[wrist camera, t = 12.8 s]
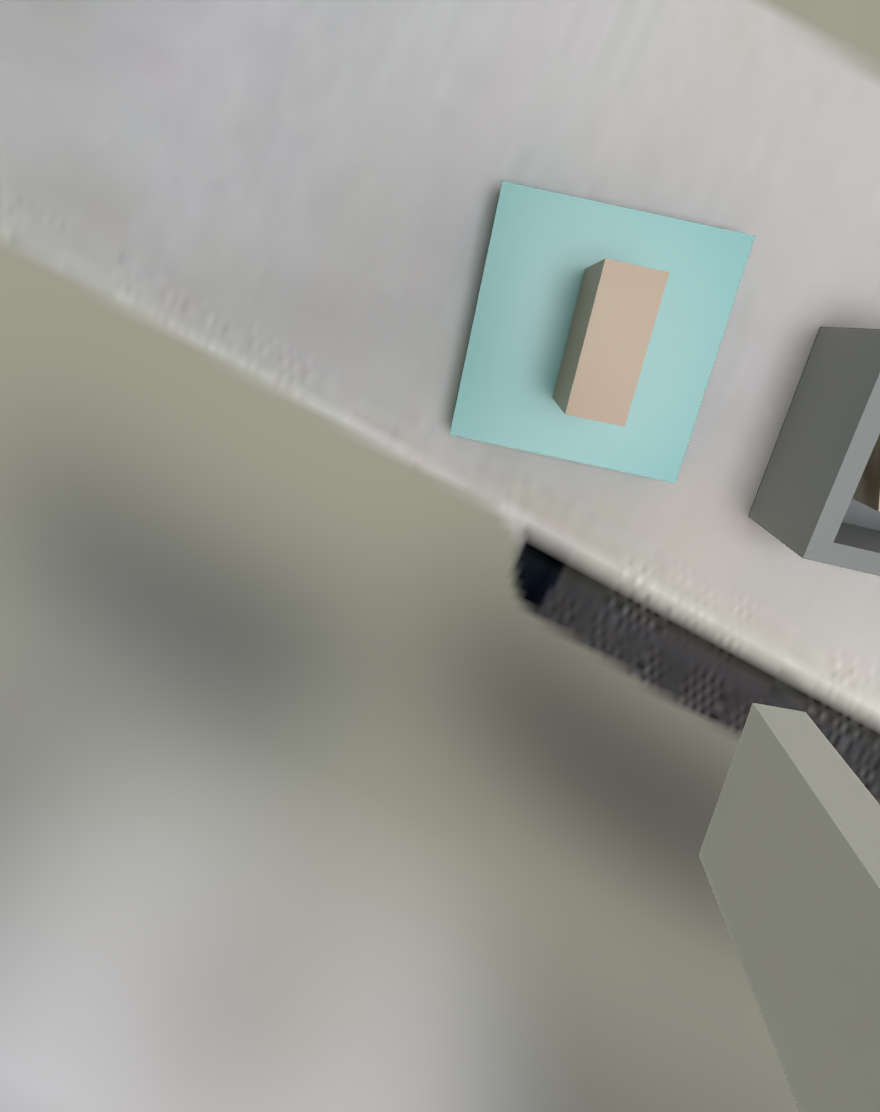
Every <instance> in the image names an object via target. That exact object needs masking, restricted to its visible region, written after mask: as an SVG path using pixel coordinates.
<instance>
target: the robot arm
mask: <svg viewBox="0 0 880 1112" xmlns="http://www.w3.org/2000/svg"><path fill="white" fill-rule="evenodd" d="M699 856H700V859H701V862H702V864H703V867H704V869H705V872H706V874H707V877H708V880H709V882H710V885H711V887H712V890H713V892H714V895H715V897H716V900H717V903H718V905H719V908H720V910H721V913H722V915H723V918H724V920H725V923H726V926H727V928H728V931H729V933H730V936H731V938H732V941H733V944H734V946H735V949H736V951H737V954H738V956H739V959H740V961H741V964H742V967H743V969H744V972H745V974H746V977H747V979H748V982H749V984H750V987H751V990H752V992H753V994H754V997H755V999H756V1002H757V1005H758V1007H759V1010H760V1013H761V1015H762V1018H763V1020H764V1023H765V1025H766V1028H767V1030H768V1033H769V1035H770V1038H771V1041H772V1043H773V1046H774V1048H775V1051H776V1053H777V1056H778V1059H779V1061H780V1064H781V1066H782V1069H783V1071H784V1074H785V1076H786V1079H787V1082H788V1084H789V1087H790V1089H791V1092H792V1094H793V1097H794V1100H795V1102H796V1105H797V1107H798V1110H799V1112H880V805H879V803H878V802H877V801H876V800H875V798H874V797H873V796H872V795H871V793H870V792H869V791H868V790H867V788H866V787H865V786H864V785H863V783H862V782H861V781H860V780H859V778H858V777H857V776H856V775H855V773H854V772H853V771H852V770H851V768H850V767H849V766H848V765H847V763H846V762H845V761H844V760H843V758H842V757H841V756H840V755H839V753H838V752H837V751H836V750H835V748H834V747H833V746H832V745H831V743H830V742H829V741H828V740H827V738H826V737H825V736H824V735H823V733H822V732H821V731H820V730H819V728H818V727H817V726H816V725H815V723H814V722H813V721H812V720H811V718H810V717H809V716H808V715H807V713H806V712H802V711H796V710H790V709H785V708H779V707H773V706H767V705H762V704H756V703H753V704H752V706H751V709H750V712H749V715H748V718H747V721H746V723H745V726H744V729H743V732H742V735H741V738H740V740H739V743H738V746H737V749H736V752H735V755H734V757H733V760H732V763H731V766H730V769H729V772H728V775H727V777H726V780H725V783H724V786H723V789H722V792H721V794H720V797H719V800H718V803H717V805H716V808H715V811H714V814H713V817H712V820H711V822H710V825H709V828H708V831H707V834H706V837H705V839H704V842H703V845H702V848H701V851H700V854H699Z"/></svg>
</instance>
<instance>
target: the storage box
mask: <svg viewBox="0 0 880 1112" xmlns="http://www.w3.org/2000/svg"><path fill="white" fill-rule="evenodd" d="M879 434H880V329H862V328H831V327H820V329H819V332H818V335H817V337H816V340H815V343H814V345H813V348H812V350H811V353H810V356H809V358H808V361H807V364H806V366H805V369H804V372H803V374H802V377H801V379H800V382H799V385H798V387H797V390H796V393H795V395H794V398H793V401H792V403H791V406H790V408H789V411H788V414H787V416H786V419H785V422H784V424H783V427H782V430H781V432H780V435H779V437H778V440H777V443H776V445H775V448H774V451H773V453H772V456H771V458H770V461H769V464H768V466H767V469H766V472H765V474H764V477H763V480H762V482H761V485H760V487H759V490H758V493H757V495H756V498H755V501H754V503H753V506H752V509H751V511H750V514H749V517H750V518H751V519H752V520H754V521H755V522H756V523H758V524H759V525H760V526H762V527H763V528H764V529H766V530H767V531H768V532H769V533H771V534H772V535H773V536H775V537H776V538H777V539H779V540H780V541H781V542H782V543H784V544H785V545H786V546H788V547H789V548H790V549H792V550H793V551H794V552H795V553H797V554H798V555H799V556H801V557H802V558H804V559H809V560H813V561H817V562H822V563H826V564H830V565H835V566H839V567H843V568H848V569H852V570H856V571H861V572H865V573H869V574H874V575H878V576H880V511H877V510H875V509H873V508H871V507H869V506H867V505H865V504H863V503H861V502H859V501H857V500H855V499H853V498H852V497H853V495H854V493H855V490H856V488H857V486H858V483H859V481H860V479H861V476H862V474H863V472H864V469H865V467H866V465H867V462H868V460H869V458H870V455H871V453H872V451H873V448H874V446H875V444H876V441H877V439H878V437H879Z"/></svg>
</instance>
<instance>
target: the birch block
mask: <svg viewBox="0 0 880 1112" xmlns="http://www.w3.org/2000/svg"><path fill="white" fill-rule="evenodd" d="M852 498H853V499H855V500H857V501H859V502H861V503H863V504H865V505H867V506H869V507H871V508H873V509H875V510H877V511H880V434H879V437H878V439H877V441H876V444H875V446H874V448H873V451H872V453H871V455H870V458H869V460H868V462H867V465H866V467H865V469H864V472H863V474H862V476H861V479H860V481H859V483H858V486H857V488H856V490H855V493H854V495H853V497H852Z"/></svg>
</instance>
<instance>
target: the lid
mask: <svg viewBox="0 0 880 1112" xmlns="http://www.w3.org/2000/svg"><path fill="white" fill-rule="evenodd" d="M754 238H755V236H754V235H749V234H745V233H740V232H736V231H731V230H726V229H722V228H717V227H713V226H708V225H703V224H699V223H694V222H690V221H685V220H680V219H676V218H671V217H666V216H662V215H657V214H653V213H648V212H643V211H639V210H634V209H630V208H625V207H620V206H616V205H611V204H607V203H602V202H597V201H593V200H588V199H583V198H579V197H574V196H570V195H565V194H560V193H556V192H551V191H547V190H542V189H537V188H533V187H528V186H524V185H519V184H514V183H510V182H505V181H502V186H501V191H500V195H499V200H498V205H497V210H496V215H495V219H494V224H493V229H492V234H491V239H490V243H489V248H488V253H487V258H486V263H485V267H484V272H483V277H482V282H481V287H480V291H479V296H478V301H477V306H476V311H475V315H474V320H473V325H472V330H471V335H470V339H469V344H468V349H467V354H466V359H465V364H464V368H463V373H462V378H461V383H460V388H459V392H458V397H457V402H456V407H455V412H454V416H453V421H452V426H451V431H450V435H453V436H458V437H463V438H467V439H472V440H477V441H481V442H486V443H491V444H495V445H500V446H505V447H509V448H514V449H518V450H523V451H528V452H532V453H537V454H542V455H546V456H551V457H556V458H560V459H565V460H570V461H574V462H579V463H584V464H588V465H593V466H598V467H602V468H607V469H612V470H616V471H621V472H625V473H630V474H635V475H639V476H644V477H649V478H653V479H658V480H663V481H667V482H672V483H676V480H677V477H678V474H679V471H680V468H681V465H682V461H683V458H684V455H685V452H686V449H687V446H688V443H689V440H690V437H691V434H692V430H693V427H694V424H695V421H696V418H697V415H698V412H699V409H700V406H701V402H702V399H703V396H704V393H705V390H706V387H707V384H708V381H709V378H710V374H711V371H712V368H713V365H714V362H715V359H716V356H717V353H718V350H719V347H720V343H721V340H722V337H723V334H724V331H725V328H726V325H727V322H728V319H729V315H730V312H731V309H732V306H733V303H734V300H735V297H736V294H737V291H738V287H739V284H740V281H741V278H742V275H743V272H744V269H745V266H746V263H747V260H748V256H749V253H750V250H751V247H752V244H753V241H754Z"/></svg>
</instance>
